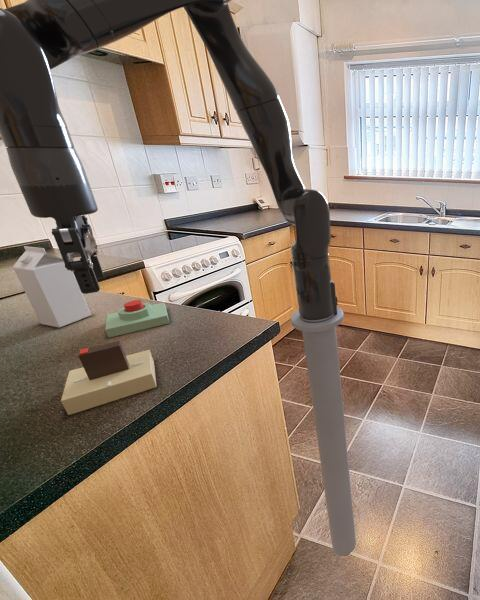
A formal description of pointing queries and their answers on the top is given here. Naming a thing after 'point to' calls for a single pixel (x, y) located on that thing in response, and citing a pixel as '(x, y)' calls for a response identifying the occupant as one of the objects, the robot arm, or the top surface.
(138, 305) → the button
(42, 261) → the milk carton
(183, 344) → the top surface
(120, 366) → the brown rectangular block
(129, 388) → the panel
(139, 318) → the button block
